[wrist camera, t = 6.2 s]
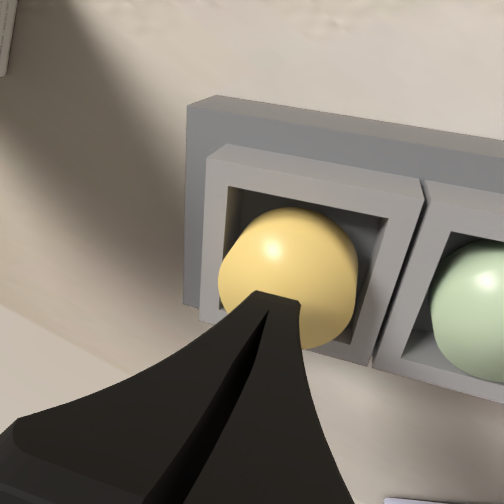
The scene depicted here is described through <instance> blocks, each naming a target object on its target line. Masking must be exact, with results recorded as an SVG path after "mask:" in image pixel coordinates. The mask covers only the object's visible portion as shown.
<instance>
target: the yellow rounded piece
mask: <svg viewBox="0 0 504 504" xmlns="http://www.w3.org/2000/svg"><path fill="white" fill-rule="evenodd" d="M357 277H358V258H357V254H356V250H355V248H354V246H353V243H352V241H351V240H350V238H349V237H348V235H347V234H346V233H345V231H344V230H343V229H342V228H341V227H340V226H339V225H338V224H337V223H335V222H334V221H333V220H331V219H330V218H328V217H326V216H324V215H323V214H320V213H318V212H316V211H313V210H309V209H305V208H299V207H284V208H278V209H274V210H270V211H268V212H265V213H263V214H261V215H260V216H258V217H257V218H255V219H254V220H253V221H252V222H251V223H250V224H249V225H248V226H247V227H246V228H245V230H244V231H243V233H242V234H241V235H240V237H239V238H238V240H237V241H236V242H235V244H234V245H233V247H232V248H231V250H230V251H229V252H228V254H227V255H226V257H225V258H224V260H223V262H222V264H221V267H220V270H219V275H218V290H219V295H220V298H221V301H222V304H223V306H224V308H225V310H226V312H227V313H228V314H229V313H230V312H231V311H232V310H233V309H235V308H236V307H237V306H238V305H239V304H240V303H241V302H242V301H243V300H245V299H246V298H247V297H248V296H249V295H250V294H251V293H252V292H253V291H255V290H258V291H262V292H266V293H270V294H274V295H278V296H282V297H286V298H290V299H294V300H298V301H299V302H300V304H301V309H300V316H299V328H300V341H301V349H310V348H315V347H318V346H321V345H324V344H326V343H328V342H330V341H331V340H333V339H334V338H336V337H337V336H338V335H339V334H340V333H342V331H343V330H344V329H345V328H346V327H347V325H348V323H349V321H350V320H351V317H352V315H353V311H354V306H355V297H356V287H357Z"/></svg>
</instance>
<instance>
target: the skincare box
mask: <svg viewBox="0 0 504 504" xmlns="http://www.w3.org/2000/svg"><path fill="white" fill-rule="evenodd" d="M17 1H18V0H0V77H3V76H5V75H6V72H7V65H8V59H9V52H10V46H11V39H12V33H13V27H14V20H15V14H16V8H17Z"/></svg>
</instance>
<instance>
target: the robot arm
mask: <svg viewBox="0 0 504 504" xmlns="http://www.w3.org/2000/svg"><path fill="white" fill-rule="evenodd" d="M300 309H301V304H300V302H299V301H298V300H294V299H290V298H286V297H282V296H278V295H274V294H270V293H266V292H262V291H258V290H255V291H253V292H252V293H251V294H250V295H249V296H248V297H247V298H246V299H245V300H243V301H242V302H241V303H240V304H239V305H238V306H237V307H236V308H235V309H233V310H232V311H231V312H230V313H229V314H228V315H227V316H225V317H224V318H223V319H222V320H220V321H219V322H218V323H217V324H215V325H214V326H213V327H212V328H210V329H209V330H208V331H206V332H205V333H203V334H202V335H201V336H199V337H198V338H196V339H195V340H194V341H192V342H191V343H189V344H188V345H187V346H185V347H183V348H182V349H180V350H179V351H177V352H176V353H174V354H172V355H171V356H169V357H167V358H166V359H164V360H162V361H160V362H159V363H157V364H155V365H153V366H151V367H149V368H148V369H146V370H144V371H142V372H140V373H138V374H136V375H134V376H132V377H130V378H128V379H126V380H124V381H121V382H120V383H117V384H115V385H112V386H110V387H107V388H105V389H103V390H100V391H98V392H95V393H93V394H90V395H88V396H85V397H82V398H80V399H77V400H74V401H71V402H69V403H66V404H62V405H59V406H56V407H53V408H50V409H47V410H44V411H41V412H37V413H34V414H31V415H28V416H24V417H21V418H18V419H17V420H16V421H14V422H13V423H12V424H11V425H10V426H9V427H8V428H7V429H6V430H5V431H4V432H2V434H0V504H355V503H354V501H353V499H352V497H351V495H350V493H349V491H348V489H347V487H346V485H345V483H344V481H343V478H342V476H341V474H340V472H339V470H338V467H337V465H336V462H335V460H334V458H333V455H332V453H331V450H330V448H329V446H328V443H327V441H326V438H325V436H324V433H323V430H322V427H321V425H320V422H319V419H318V416H317V413H316V410H315V406H314V403H313V400H312V396H311V393H310V389H309V385H308V381H307V376H306V372H305V367H304V362H303V356H302V349H301V341H300V328H299V316H300ZM383 503H384V504H447V503H438V502H428V501H418V500H409V499H399V498H386V499H384V502H383Z"/></svg>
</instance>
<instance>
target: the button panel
mask: <svg viewBox="0 0 504 504" xmlns="http://www.w3.org/2000/svg"><path fill="white" fill-rule="evenodd" d="M284 207H299V208H305V209H309V210H313V211H316V212H318V213H320V214H323V215H324V216H326V217H328V218H330V219H331V220H333V221H334V222H335V223H337V224H338V225H339V226H340V227H341V228H342V229H343V230H344V231H345V233H346V234H347V235H348V237H349V238H350V240H351V241H352V243H353V246H354V248H355V250H356V254H357V258H358V277H357V287H356V297H355V306H354V311H353V315H352V317H351V320H350V321H349V323H348V325H347V327H346V328H345V329H344V330H343V331H342V333H340V334H339V335H338V336H337V337H336V338H334V339H333V340H331V341H330V342H328V343H326V344H324V345H321V346H318V347H315V348H310V349H305V350H309V351H312V352H316V353H320V354H323V355H327V356H330V357H334V358H338V359H341V360H345V361H349V362H352V363H356V364H360V365H363V366H367V365H368V362H369V359H370V356H371V355H373V362H372V368H374V369H378V370H381V371H385V372H389V373H392V374H396V375H400V376H403V377H407V378H410V379H414V380H418V381H421V382H425V383H429V384H432V385H436V386H440V387H443V388H447V389H450V390H454V391H458V392H461V393H465V394H469V395H472V396H476V397H480V398H483V399H487V400H490V401H494V402H498V403H501V404H504V383H503V382H495V381H490V380H485V379H481V378H478V377H475V376H473V375H470V374H468V373H466V372H464V371H462V370H461V369H459V368H457V367H456V366H455V365H453V364H452V363H451V362H450V361H449V360H448V359H447V358H446V357H445V356H444V355H443V354H442V352H441V350H440V349H439V347H438V345H437V342H436V340H435V335H434V330H433V324H432V319H431V313H430V308H429V302H428V287H429V285H430V282H431V280H432V277H433V275H434V272H435V270H436V269H437V267H438V266H439V265H440V264H441V262H442V261H443V260H444V259H446V258H447V257H448V256H449V255H450V254H452V253H453V252H455V251H456V250H458V249H460V248H462V247H464V246H466V245H468V244H471V243H473V242H476V241H480V240H484V239H492V240H497V241H502V242H504V141H502V140H496V139H490V138H483V137H477V136H471V135H464V134H458V133H452V132H446V131H439V130H433V129H427V128H420V127H414V126H408V125H402V124H395V123H389V122H383V121H376V120H370V119H364V118H358V117H351V116H345V115H339V114H332V113H326V112H320V111H314V110H307V109H301V108H295V107H288V106H282V105H276V104H269V103H263V102H257V101H251V100H244V99H238V98H232V97H225V96H219V95H215V96H212V97H209V98H206V99H204V100H201V101H198V102H195V103H193V104H190V105H187V128H186V178H185V228H184V279H183V304H184V305H188V306H192V307H195V308H199V320H200V321H203V322H207V323H211V324H214V325H215V324H217V323H218V322H219V321H220V320H222V319H223V318H224V317H225V316H227V315H228V313H227V312H226V310H225V308H224V306H223V304H222V301H221V298H220V295H219V290H218V275H219V270H220V267H221V264H222V262H223V260H224V258H225V257H226V255H227V254H228V252H229V251H230V250H231V248H232V247H233V245H234V244H235V242H236V241H237V240H238V238H239V237H240V235H241V234H242V233H243V231H244V230H245V228H246V227H247V226H248V225H249V224H250V223H251V222H252V221H253V220H254V219H255V218H257V217H258V216H260V215H261V214H263V213H265V212H268V211H270V210H274V209H278V208H284Z"/></svg>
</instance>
